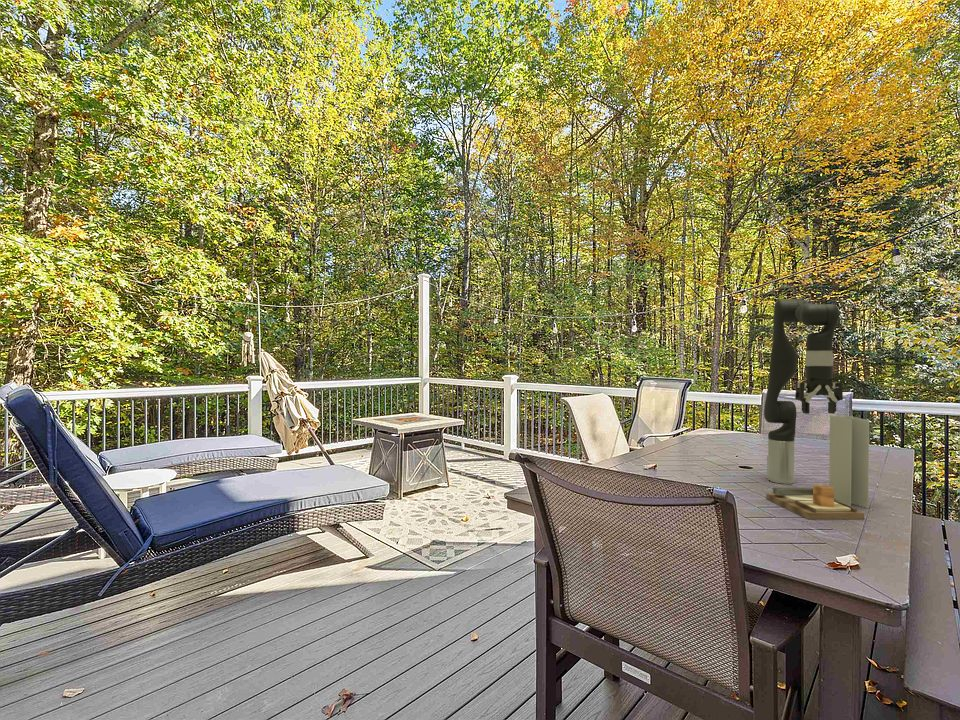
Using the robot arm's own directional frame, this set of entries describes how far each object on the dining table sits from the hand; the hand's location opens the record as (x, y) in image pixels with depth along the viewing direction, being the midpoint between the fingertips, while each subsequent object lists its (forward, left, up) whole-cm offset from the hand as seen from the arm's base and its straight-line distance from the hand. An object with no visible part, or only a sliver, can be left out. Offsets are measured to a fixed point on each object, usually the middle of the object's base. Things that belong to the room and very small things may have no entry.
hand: (818, 413), depth 160 cm
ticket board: (-4, +1, -33) cm, 33 cm away
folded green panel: (-11, +19, -33) cm, 40 cm away
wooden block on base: (+1, +1, -31) cm, 31 cm away
